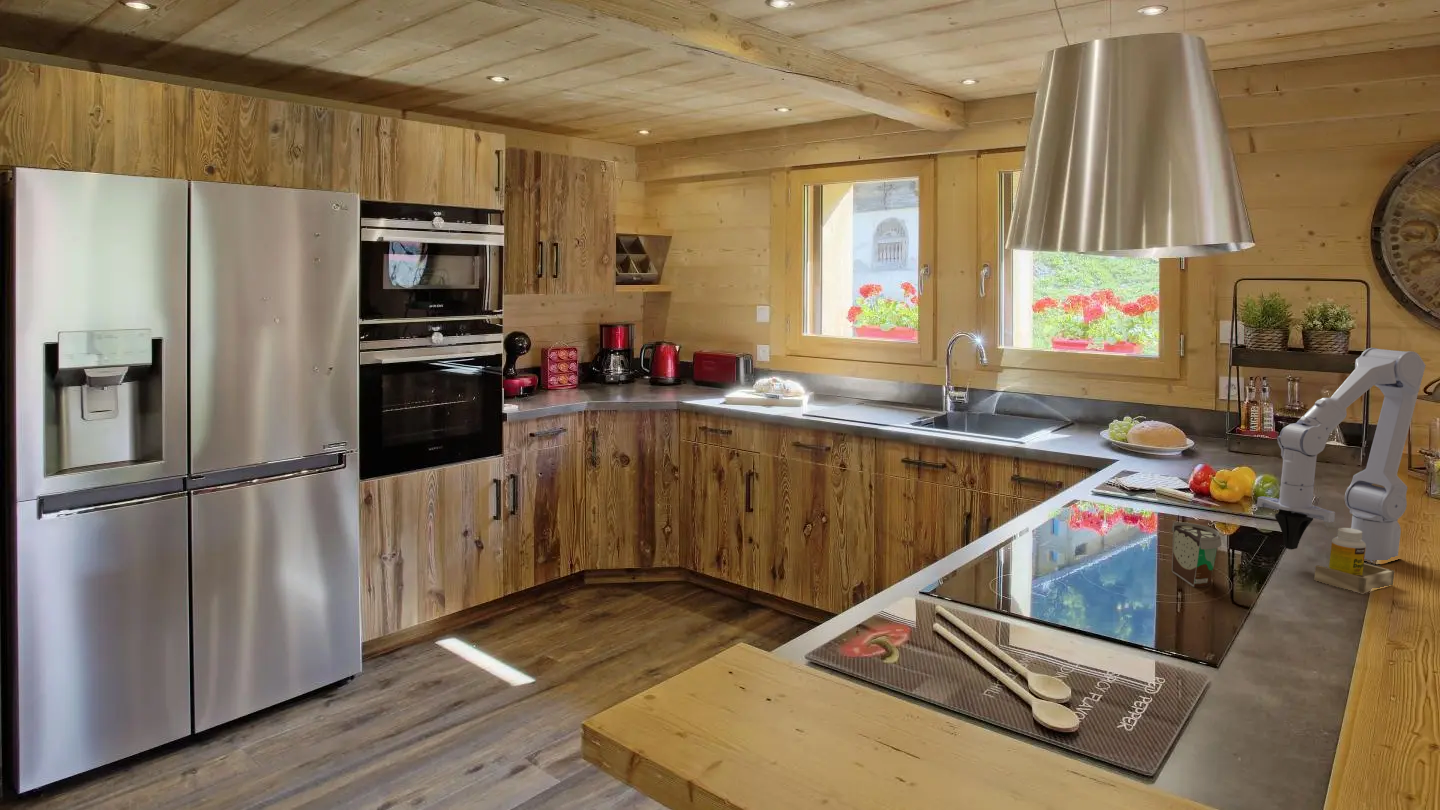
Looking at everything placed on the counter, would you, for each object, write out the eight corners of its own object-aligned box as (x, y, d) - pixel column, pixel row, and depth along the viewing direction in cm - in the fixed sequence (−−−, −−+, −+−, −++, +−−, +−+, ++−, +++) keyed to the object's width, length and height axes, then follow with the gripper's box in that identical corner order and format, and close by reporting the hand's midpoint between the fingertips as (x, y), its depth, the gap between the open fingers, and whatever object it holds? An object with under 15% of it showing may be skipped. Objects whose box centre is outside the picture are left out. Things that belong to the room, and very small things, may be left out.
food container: (1230, 590, 179) (1235, 539, 177) (1197, 589, 179) (1202, 538, 177) (1199, 569, 191) (1203, 521, 189) (1168, 569, 191) (1172, 521, 190)
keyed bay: (1344, 572, 190) (1346, 558, 189) (1392, 585, 182) (1394, 570, 182) (1314, 580, 185) (1315, 565, 184) (1362, 594, 177) (1364, 579, 177)
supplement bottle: (1353, 587, 181) (1359, 535, 179) (1322, 579, 186) (1327, 529, 184) (1366, 582, 184) (1372, 531, 183) (1335, 574, 189) (1341, 524, 187)
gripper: (1250, 478, 196) (1245, 541, 198) (1323, 493, 184) (1316, 560, 186) (1271, 474, 199) (1265, 537, 201) (1343, 489, 187) (1336, 555, 189)
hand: (1291, 548), depth 194 cm, fingers closed
